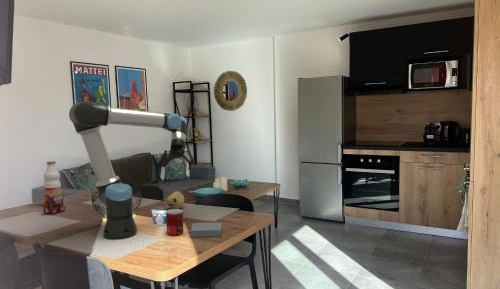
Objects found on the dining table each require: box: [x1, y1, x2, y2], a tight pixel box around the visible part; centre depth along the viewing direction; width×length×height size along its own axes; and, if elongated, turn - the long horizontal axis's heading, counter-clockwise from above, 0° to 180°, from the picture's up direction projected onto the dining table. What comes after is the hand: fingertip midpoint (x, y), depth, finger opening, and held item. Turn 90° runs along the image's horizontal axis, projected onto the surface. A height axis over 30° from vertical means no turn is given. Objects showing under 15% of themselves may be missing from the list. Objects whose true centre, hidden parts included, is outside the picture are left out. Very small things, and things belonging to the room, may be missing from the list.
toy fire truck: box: [42, 193, 66, 215], centre depth 214 cm, size 7×12×10 cm, turn 155°
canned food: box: [165, 208, 184, 237], centre depth 174 cm, size 8×8×11 cm
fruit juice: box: [43, 161, 62, 203], centre depth 231 cm, size 9×9×28 cm
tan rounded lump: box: [164, 190, 185, 210], centre depth 220 cm, size 10×12×11 cm
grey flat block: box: [190, 222, 223, 238], centre depth 175 cm, size 14×12×3 cm
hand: (174, 177), depth 184 cm, fingers open, 13 cm apart
